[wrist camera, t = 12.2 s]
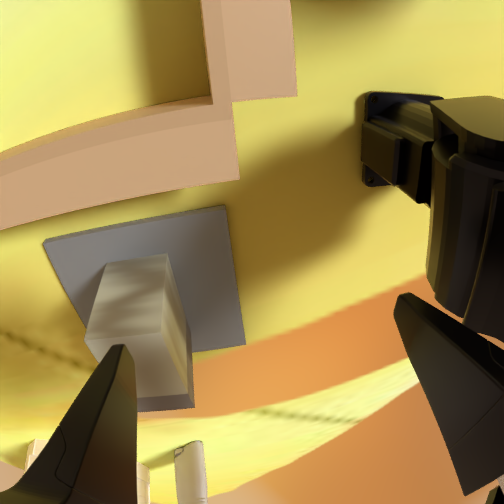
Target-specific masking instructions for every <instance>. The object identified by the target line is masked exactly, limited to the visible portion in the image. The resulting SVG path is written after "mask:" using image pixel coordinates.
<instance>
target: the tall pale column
mask: <svg viewBox="0 0 504 504" xmlns="http://www.w3.org/2000/svg"><path fill="white" fill-rule="evenodd" d="M174 453H175V458H174V462H175V478H176V490H177V499H178V504H208V500H207V479H206V469H205V459H204V449H203V443H202V441H193V442H190V443H189V444H187V445H186V446H184V447H183V448H178V449H176V450H175V451H174Z"/></svg>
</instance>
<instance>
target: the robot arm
mask: <svg viewBox="0 0 504 504" xmlns="http://www.w3.org/2000/svg"><path fill="white" fill-rule="evenodd" d="M372 96H375V101H374V102H372V101H371V98H372ZM361 161H362V162H363V171H362V181H363V183H364V184H365V185H366V186H368V187H376V186H386V185H392V186H394V187H395V186H397V187H398V188H399V189H400V190H402V191H403V192H404V193H405V194H407V195H408V196H409V197H410V198H411V199H413V200H414V201H415V202H416V203H418V204H421V203H424V204H425V205H426V206H427V207H429V208H430V209H431V210H430V226H429V238H428V249H427V258H426V274H427V279H428V281H429V283H430V285H431V287H432V289H433V291H434V292H435V299H436V300H437V301H438V302H439V303H440V304H441V305H442V306H443V307H444V308H445V309H447V310H449V311H450V312H452V313H453V314H455V315H457V316H459V317H461V318H464V319H463V322H462V324H461V323H460V322H458V321H457V320H455V319H453V318H452V317H450V316H448V315H447V314H445V313H443V312H442V311H440V310H439V309H437V308H435V307H434V306H432V305H430V304H428V303H427V302H425V301H424V300H422V299H420V298H419V297H417V296H415V295H414V294H412V293H409V292H408V293H404V294H400V295H399V296H398V298H397V302H396V305H395V308H394V319H395V322H396V324H397V327H398V330H399V333H400V335H401V338H402V341H403V344H404V347H405V349H406V352H407V355H408V357H409V359H410V361H411V364H412V366H413V368H414V370H415V372H416V374H417V377H418V379H419V381H420V383H421V385H422V388H423V390H424V392H425V394H426V397H427V399H428V401H429V404H430V406H431V408H432V411H433V413H434V416H435V418H436V420H437V423H438V425H439V428H440V430H441V433H442V435H443V438H444V441H445V443H446V446H447V448H448V451H449V454H450V456H451V459H452V462H453V465H454V468H455V470H456V473H457V476H458V479H459V482H460V485H461V488H462V491H463V494H464V496H467V495H469V494H471V493H473V492H474V491H476V490H478V489H480V488H481V487H484V486H485V485H487V484H489V483H490V482H492V481H494V480H495V479H497V480H498V482H499V485H498V486H496V487H495V488H494V489H492V490H491V491H490V492H489V495H488V498H487V501H486V504H504V350H503V349H501V348H499V347H498V346H496V345H495V344H493V343H492V342H490V341H487V339H485V338H484V337H482V336H480V335H479V334H477V333H481V334H485V335H488V336H491V337H494V338H497V339H498V340H500V341H502V342H504V99H500V98H496V97H492V96H476V97H464V98H453V99H444V98H443V97H440V96H435V95H426V94H415V93H401V92H384V91H369V92H368V93H366V95H365V116H364V123H363V124H362V146H361ZM369 177H372V178H371V180H370V181H368V179H369ZM59 425H60V426H58V427H57V428H56V430H55V432H54V433H53V435H52V436H51V438H50V439H49V441H48V442H47V444H46V445H45V447H44V448H43V450H42V451H41V452H40V454H39V455H38V456H37V458H36V459H35V460H34V462H33V463H32V464H31V466H30V467H29V468H28V470H27V471H26V472H25V474H24V475H23V476H22V478H21V479H20V480H19V481H18V482H17V483H16V484H15V485H14V486H13V487H11V488H9V489H8V490H5V491H3V492H0V504H138V499H137V392H136V376H135V362H134V359H133V357H132V355H131V354H130V352H129V350H128V348H127V347H126V345H125V344H114V345H112V346H111V347H110V349H109V350H108V351H107V353H106V354H105V356H104V357H103V359H102V360H101V362H100V363H99V365H98V366H97V367H96V369H95V370H94V372H93V373H92V375H91V376H90V378H89V379H88V381H87V382H86V384H85V385H84V387H83V388H82V390H81V391H80V393H79V394H78V396H77V397H76V399H75V400H74V402H73V403H72V405H71V407H70V408H69V410H68V411H67V413H66V414H65V416H64V417H63V419H62V421H61V422H60V424H59Z"/></svg>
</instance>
